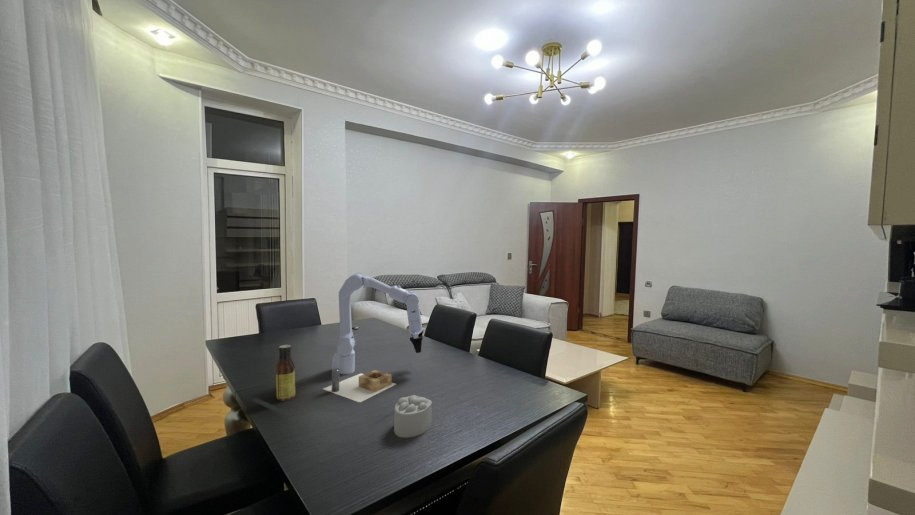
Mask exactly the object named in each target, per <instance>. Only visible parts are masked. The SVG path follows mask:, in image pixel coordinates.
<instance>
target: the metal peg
mask: <svg viewBox="0 0 915 515" xmlns="http://www.w3.org/2000/svg"><path fill="white" fill-rule="evenodd" d="M340 375H341V374H340V369H338V368H335V369H332V368H331V385H332V392H337V391H339V382H340V377H341V376H340ZM332 392H331V393H332Z"/></svg>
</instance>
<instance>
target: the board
mask: <svg viewBox="0 0 915 515" xmlns="http://www.w3.org/2000/svg"><path fill="white" fill-rule="evenodd" d="M364 374H365V373H358V374H356V375H353V376H351V377H347V378H345V379H343V380H341V381H339V391H337V392H332V384H331V385H328V386H327V387H324V388H322V390H325V391H326V392H330V393H333V394H335V395H338V396H340V397H343V398H346V399H349V400H351V401H354V402H356V403H362V402H364V401H366V400H367V399H370V398H372V397H374V396H375V395H378V394H380V393H383V392H384V391H386V390H388V389H390V388H392V387H394V386H396V385H397V383H395V382H392V381H391V385H389V386H387V387H385V388H383V389H381V390H379V391H377V392H374V391H371V390H368V389H364V388H361V387H359V376H361V375H364Z"/></svg>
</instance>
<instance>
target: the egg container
mask: <svg viewBox="0 0 915 515" xmlns="http://www.w3.org/2000/svg"><path fill="white" fill-rule="evenodd" d="M432 402H433V401H432V400H431V399H429V398H426V397H424V396H419V395H415V394H412V395H409V396H405V397H404V396H403V397H400V398H399V399H398V401H397V403H395V405H394V414H393V415H394V417H393V418H394V419H393V421H394V422H393V433H394V434H395V436H397V437H399V438H414V437H416V436H420V435H422V434H424V433H425V432H426V431H427V430H429V428H430V427H431V425H432V410H433V409H432V407H433V406H432V405H433V403H432Z"/></svg>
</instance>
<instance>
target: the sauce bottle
mask: <svg viewBox="0 0 915 515" xmlns="http://www.w3.org/2000/svg"><path fill="white" fill-rule="evenodd" d="M291 350H292V345H291V344H283V345H279V346H278V352H279V355H278V356H279V357H278V358H279V359H278V361H277V363H276V366H275V385H276V386H275V388H276V400H278V401H281V402H283V401H285V402H286V401H289V400H292V399H294V398H295V397H296V367H295V363H294V361H293V358H292V355H291V353H292V352H291Z"/></svg>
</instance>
